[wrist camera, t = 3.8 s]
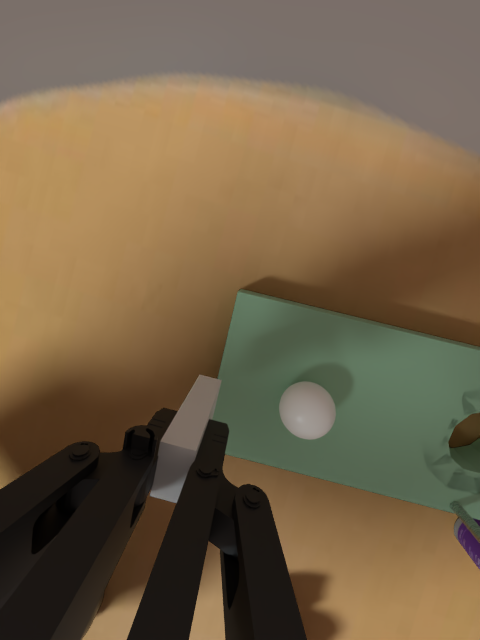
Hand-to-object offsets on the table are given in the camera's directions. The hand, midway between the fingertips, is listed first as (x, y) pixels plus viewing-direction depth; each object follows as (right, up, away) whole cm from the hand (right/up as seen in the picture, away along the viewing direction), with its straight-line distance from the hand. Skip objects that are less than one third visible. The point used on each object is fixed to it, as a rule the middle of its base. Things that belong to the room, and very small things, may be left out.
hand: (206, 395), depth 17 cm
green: (+15, -3, +7) cm, 17 cm away
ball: (+7, -2, +2) cm, 8 cm away
